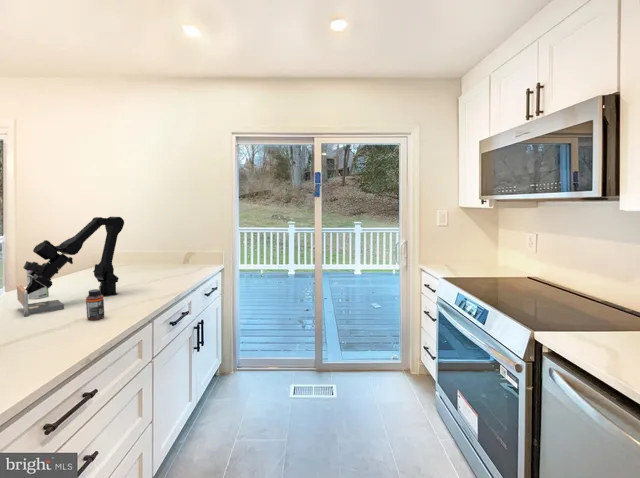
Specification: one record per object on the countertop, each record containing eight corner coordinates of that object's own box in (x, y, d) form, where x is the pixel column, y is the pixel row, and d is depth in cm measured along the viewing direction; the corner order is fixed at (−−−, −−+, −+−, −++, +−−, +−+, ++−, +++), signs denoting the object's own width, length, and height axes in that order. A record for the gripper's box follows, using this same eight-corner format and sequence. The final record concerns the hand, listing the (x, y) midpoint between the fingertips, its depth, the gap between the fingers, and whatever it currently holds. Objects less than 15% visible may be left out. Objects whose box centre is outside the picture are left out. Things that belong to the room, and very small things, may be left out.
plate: (58, 304, 168) (57, 282, 167) (65, 310, 158) (64, 287, 158) (19, 309, 158) (17, 286, 157) (24, 316, 149) (22, 292, 148)
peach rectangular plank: (22, 298, 161) (21, 285, 160) (27, 305, 151) (26, 290, 150) (17, 299, 160) (16, 285, 159) (23, 306, 150) (22, 291, 149)
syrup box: (38, 299, 176) (36, 268, 175) (27, 298, 178) (26, 268, 176) (49, 296, 182) (47, 266, 181) (39, 295, 183) (37, 266, 182)
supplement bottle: (91, 316, 151) (90, 288, 150) (107, 315, 151) (106, 288, 150) (83, 320, 145) (82, 292, 144) (99, 320, 145) (98, 291, 144)
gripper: (33, 251, 166) (2, 279, 160) (40, 256, 153) (8, 287, 147) (55, 267, 173) (27, 294, 166) (64, 272, 160) (34, 303, 153)
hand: (24, 294), depth 158 cm, fingers closed, pressing on peach rectangular plank
